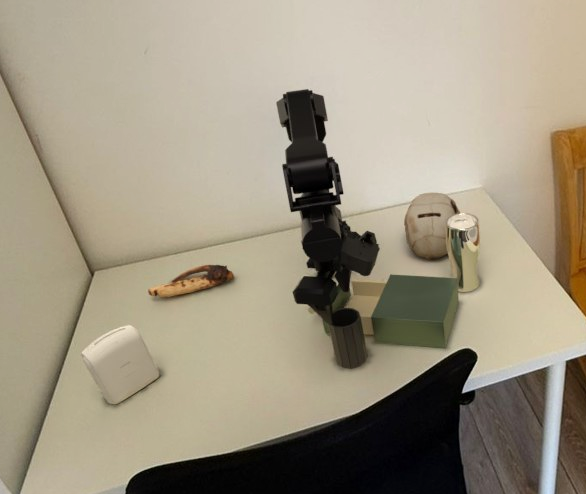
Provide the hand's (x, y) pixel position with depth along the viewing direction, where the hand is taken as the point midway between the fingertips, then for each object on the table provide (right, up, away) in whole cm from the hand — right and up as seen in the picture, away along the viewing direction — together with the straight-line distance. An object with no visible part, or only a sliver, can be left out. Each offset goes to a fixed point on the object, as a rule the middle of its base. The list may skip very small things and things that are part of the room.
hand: (338, 306), depth 111 cm
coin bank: (+17, +17, +36) cm, 44 cm away
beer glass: (+24, +6, +22) cm, 33 cm away
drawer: (+1, -1, +15) cm, 15 cm away
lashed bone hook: (-36, +6, +29) cm, 47 cm away
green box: (+14, -2, +13) cm, 19 cm away
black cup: (+2, -9, +7) cm, 11 cm away
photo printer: (-38, -15, +5) cm, 41 cm away
